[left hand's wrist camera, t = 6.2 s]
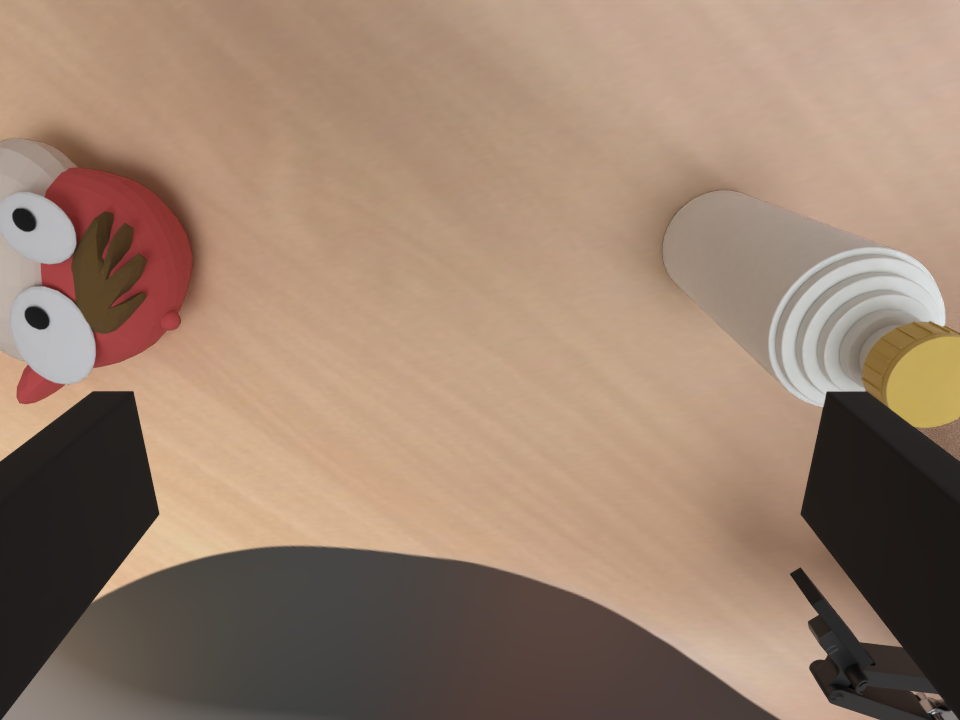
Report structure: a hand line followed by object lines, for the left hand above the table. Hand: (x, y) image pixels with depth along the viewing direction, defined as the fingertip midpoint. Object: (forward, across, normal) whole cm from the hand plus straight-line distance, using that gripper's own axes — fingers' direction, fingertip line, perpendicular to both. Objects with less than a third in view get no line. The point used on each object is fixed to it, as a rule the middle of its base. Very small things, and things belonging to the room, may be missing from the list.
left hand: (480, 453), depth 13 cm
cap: (+11, +17, -3) cm, 21 cm away
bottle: (+36, +17, -3) cm, 40 cm away
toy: (+36, -34, -4) cm, 50 cm away
